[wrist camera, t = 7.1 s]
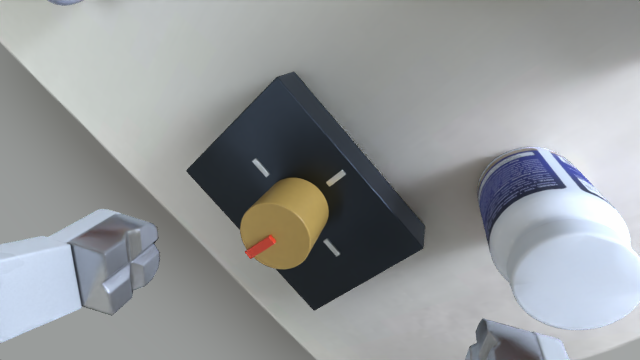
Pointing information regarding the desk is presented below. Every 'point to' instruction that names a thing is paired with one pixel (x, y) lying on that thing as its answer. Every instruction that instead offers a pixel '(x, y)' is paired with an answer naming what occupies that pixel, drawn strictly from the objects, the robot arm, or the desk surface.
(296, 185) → the lock knob
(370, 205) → the plate
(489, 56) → the desk surface
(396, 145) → the desk surface
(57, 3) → the mug
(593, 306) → the pill bottle
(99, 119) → the desk surface
